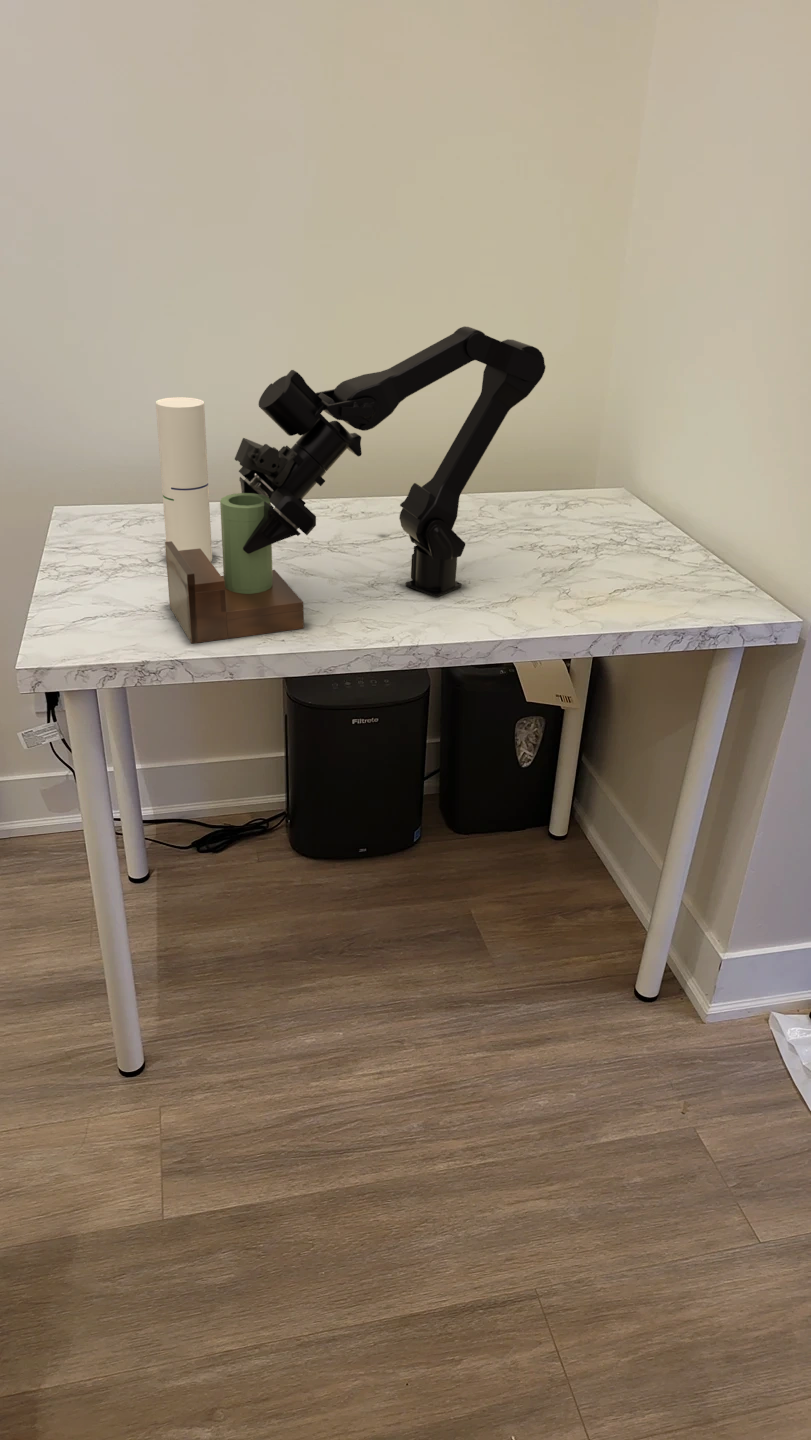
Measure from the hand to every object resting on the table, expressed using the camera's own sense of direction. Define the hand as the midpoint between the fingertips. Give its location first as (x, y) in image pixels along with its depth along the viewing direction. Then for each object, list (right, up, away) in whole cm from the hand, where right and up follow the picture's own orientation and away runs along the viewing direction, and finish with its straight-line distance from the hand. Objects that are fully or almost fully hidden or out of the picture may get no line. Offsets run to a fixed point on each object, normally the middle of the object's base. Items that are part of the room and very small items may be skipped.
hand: (236, 541), depth 145 cm
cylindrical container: (-11, +1, +23) cm, 26 cm away
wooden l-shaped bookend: (-1, -10, +3) cm, 11 cm away
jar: (+1, -6, +4) cm, 7 cm away
